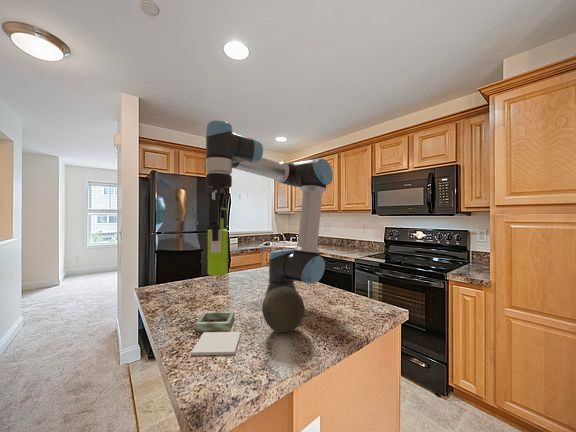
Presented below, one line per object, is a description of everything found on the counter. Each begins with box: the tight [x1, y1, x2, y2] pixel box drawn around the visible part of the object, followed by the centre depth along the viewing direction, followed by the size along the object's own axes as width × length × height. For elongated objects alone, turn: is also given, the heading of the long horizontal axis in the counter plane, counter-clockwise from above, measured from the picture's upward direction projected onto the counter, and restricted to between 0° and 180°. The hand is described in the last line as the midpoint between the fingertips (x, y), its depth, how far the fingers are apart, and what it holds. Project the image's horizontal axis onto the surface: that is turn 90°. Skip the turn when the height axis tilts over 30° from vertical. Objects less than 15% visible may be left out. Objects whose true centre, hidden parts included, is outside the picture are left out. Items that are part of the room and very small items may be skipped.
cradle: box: [194, 311, 235, 332], centre depth 90 cm, size 11×10×2 cm
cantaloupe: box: [261, 286, 306, 334], centre depth 84 cm, size 14×14×15 cm
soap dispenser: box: [207, 208, 229, 277], centre depth 76 cm, size 6×7×20 cm
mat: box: [190, 331, 242, 356], centre depth 76 cm, size 12×12×1 cm
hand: (218, 250), depth 76 cm, fingers closed on soap dispenser, 6 cm apart
